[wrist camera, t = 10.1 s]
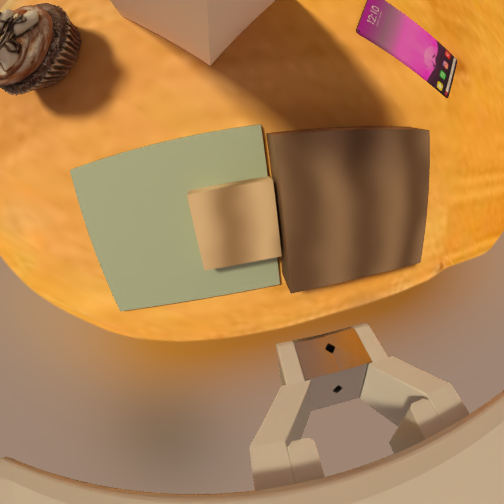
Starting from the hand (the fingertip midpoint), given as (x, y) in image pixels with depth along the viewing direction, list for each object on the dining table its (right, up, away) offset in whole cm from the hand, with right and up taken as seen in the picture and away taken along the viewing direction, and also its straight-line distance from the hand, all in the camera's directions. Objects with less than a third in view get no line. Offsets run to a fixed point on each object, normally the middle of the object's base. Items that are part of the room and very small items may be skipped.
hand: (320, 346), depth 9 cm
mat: (-10, +6, +20) cm, 23 cm away
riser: (+9, +9, +21) cm, 25 cm away
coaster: (-4, +6, +20) cm, 22 cm away
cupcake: (-24, +24, +10) cm, 35 cm away
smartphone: (+17, +28, +14) cm, 35 cm away
